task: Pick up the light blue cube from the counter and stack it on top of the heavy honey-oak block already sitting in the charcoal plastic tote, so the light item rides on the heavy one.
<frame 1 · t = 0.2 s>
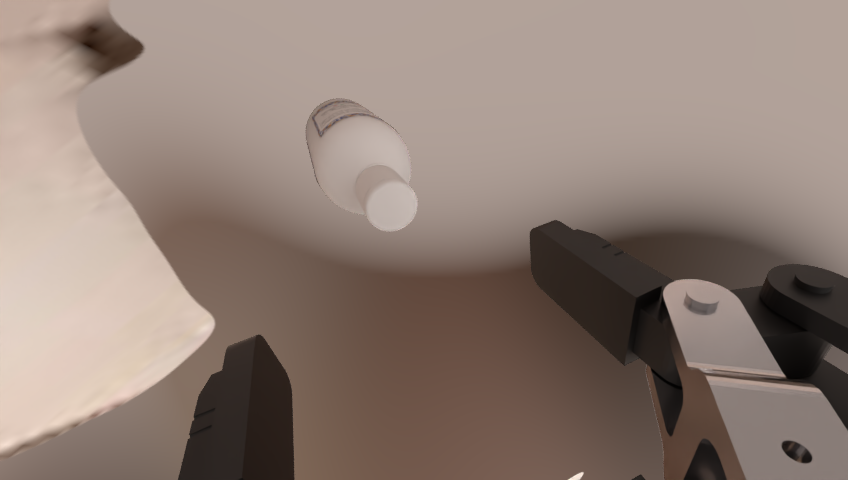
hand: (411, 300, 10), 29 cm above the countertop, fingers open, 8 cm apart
bath foam: (341, 134, 35), on the countertop
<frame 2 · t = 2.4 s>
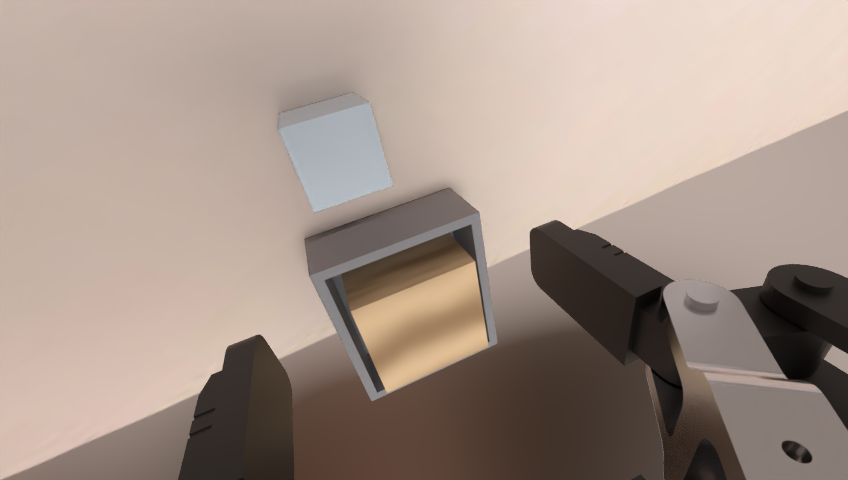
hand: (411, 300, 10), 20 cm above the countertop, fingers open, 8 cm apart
tote: (401, 279, 35), on the countertop
oak block: (403, 283, 34), point 1 cm above the countertop, touching tote
light blue cube: (329, 139, 27), on the countertop
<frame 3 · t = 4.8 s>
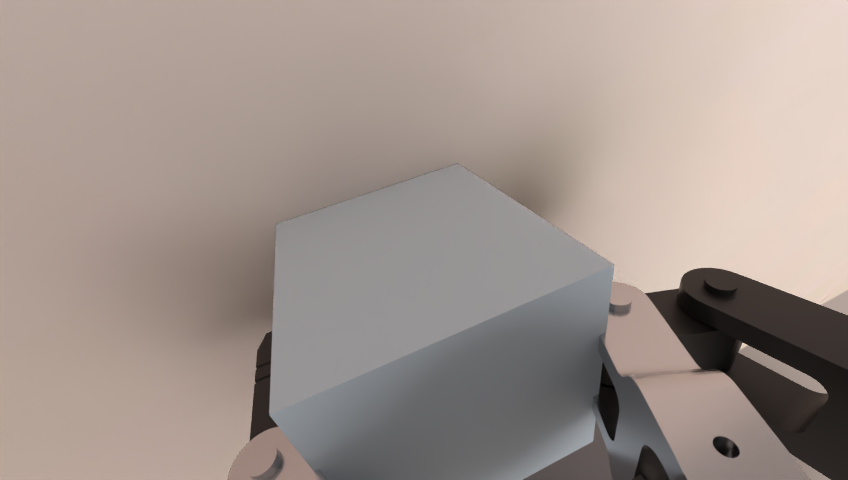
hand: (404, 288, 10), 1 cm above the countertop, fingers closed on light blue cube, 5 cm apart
tote: (490, 460, 20), on the countertop
light blue cube: (394, 266, 11), on the countertop, touching gripper
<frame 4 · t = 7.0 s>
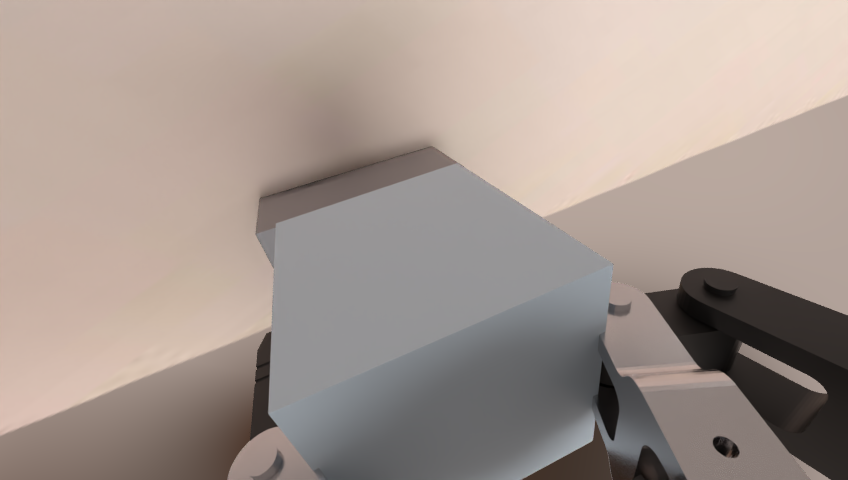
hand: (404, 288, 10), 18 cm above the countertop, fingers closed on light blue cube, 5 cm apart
tote: (376, 253, 31), on the countertop
light blue cube: (394, 266, 11), point 17 cm above the countertop, touching gripper
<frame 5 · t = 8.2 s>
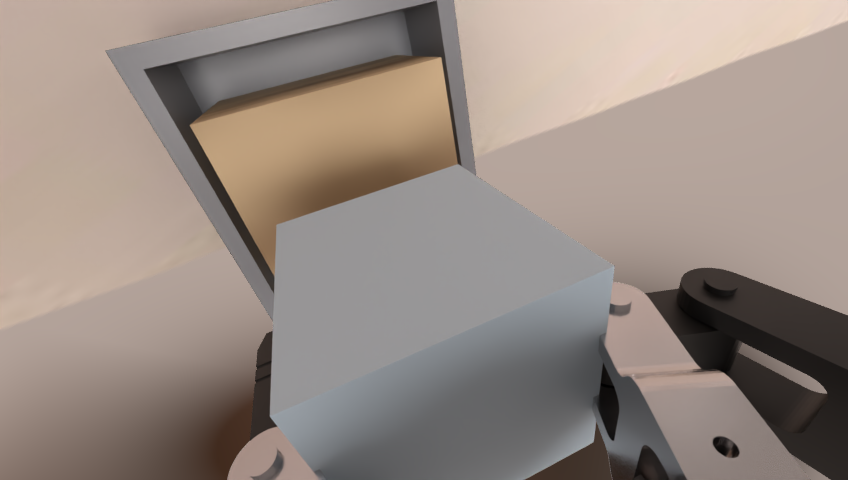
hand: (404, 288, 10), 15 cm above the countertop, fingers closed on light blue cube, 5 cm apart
tote: (339, 158, 23), on the countertop
oak block: (340, 161, 22), point 1 cm above the countertop, touching tote
light blue cube: (395, 267, 11), point 14 cm above the countertop, touching gripper
when the fingers open (11 cm above the countertop, at t = 9.3 s): light blue cube drops 2 cm, resting on oak block.
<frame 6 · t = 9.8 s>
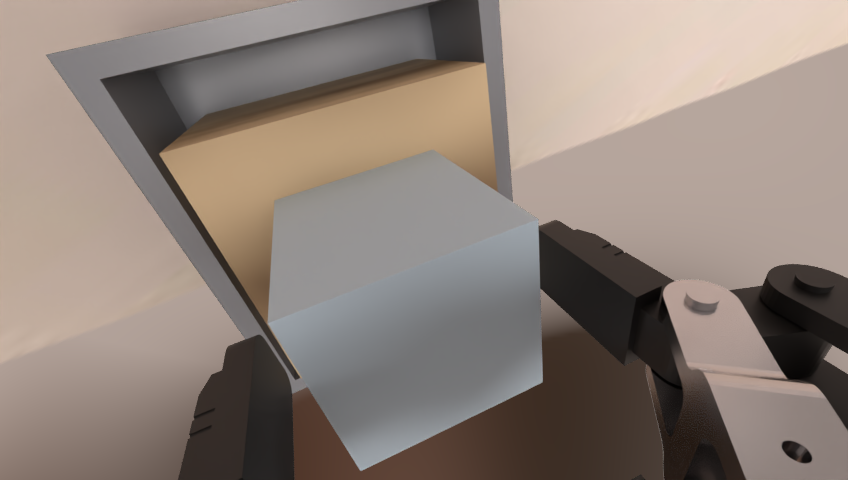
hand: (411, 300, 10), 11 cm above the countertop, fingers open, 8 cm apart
tote: (348, 178, 19), on the countertop
oak block: (350, 182, 19), point 1 cm above the countertop, touching light blue cube, tote
light blue cube: (379, 241, 13), point 8 cm above the countertop, touching oak block
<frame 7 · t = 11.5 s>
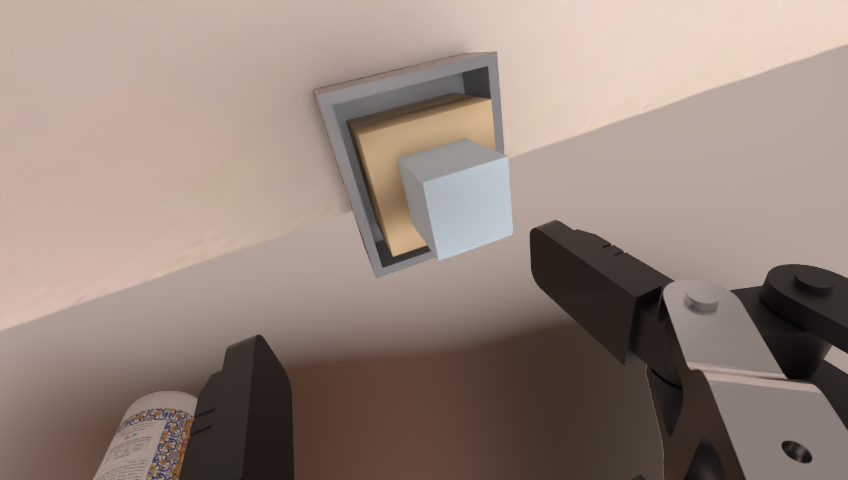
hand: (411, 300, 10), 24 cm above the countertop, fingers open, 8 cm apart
tote: (411, 158, 33), on the countertop
bath foam: (168, 409, 37), on the countertop
oak block: (413, 160, 33), point 1 cm above the countertop, touching light blue cube, tote
light blue cube: (438, 182, 27), point 8 cm above the countertop, touching oak block
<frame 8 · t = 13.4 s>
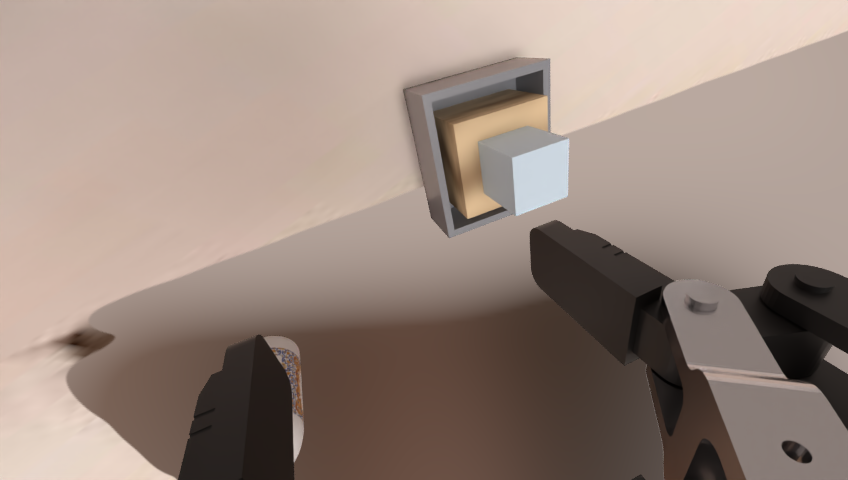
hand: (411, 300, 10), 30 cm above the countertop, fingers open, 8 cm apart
tote: (471, 143, 42), on the countertop
bath foam: (271, 352, 46), on the countertop
oak block: (474, 144, 41), point 1 cm above the countertop, touching light blue cube, tote
light blue cube: (505, 160, 35), point 8 cm above the countertop, touching oak block
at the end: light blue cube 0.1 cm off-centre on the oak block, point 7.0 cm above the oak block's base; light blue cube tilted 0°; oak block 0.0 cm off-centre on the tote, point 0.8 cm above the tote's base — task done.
